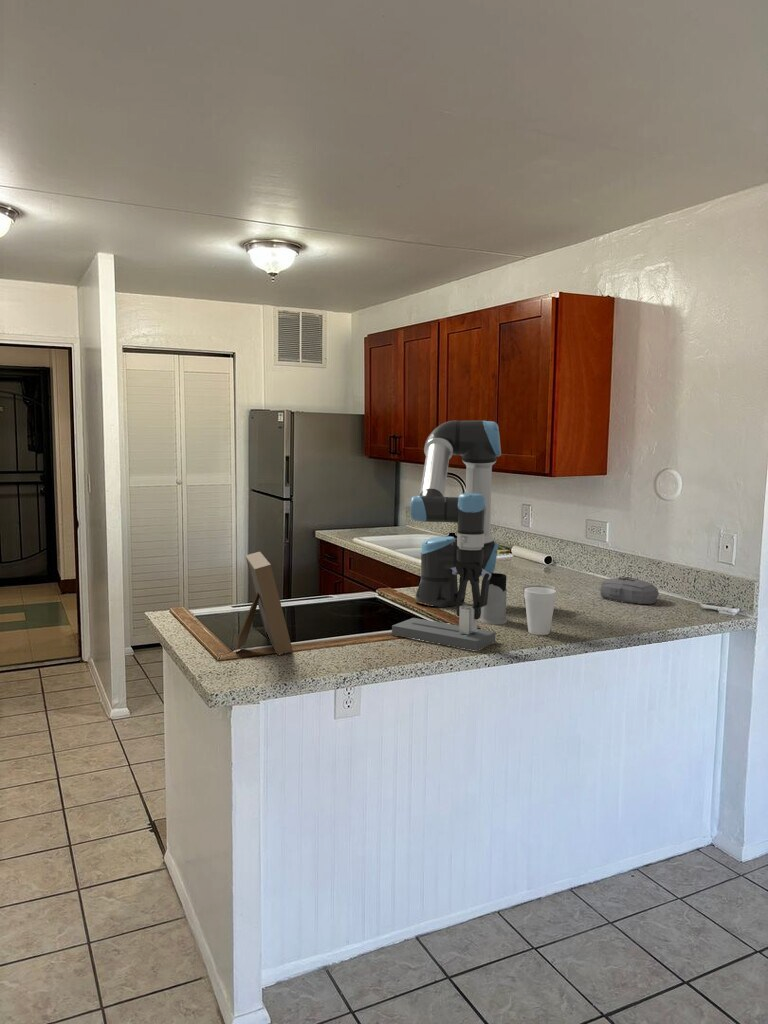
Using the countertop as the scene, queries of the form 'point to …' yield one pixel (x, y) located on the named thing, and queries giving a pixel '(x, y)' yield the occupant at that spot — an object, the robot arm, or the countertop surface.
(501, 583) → the glass holder
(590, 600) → the countertop surface
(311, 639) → the countertop surface
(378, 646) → the countertop surface
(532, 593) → the foam cup
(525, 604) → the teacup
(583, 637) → the countertop surface
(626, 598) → the soft grey pack
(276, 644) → the photo frame
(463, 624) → the fader knob
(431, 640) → the fader console
